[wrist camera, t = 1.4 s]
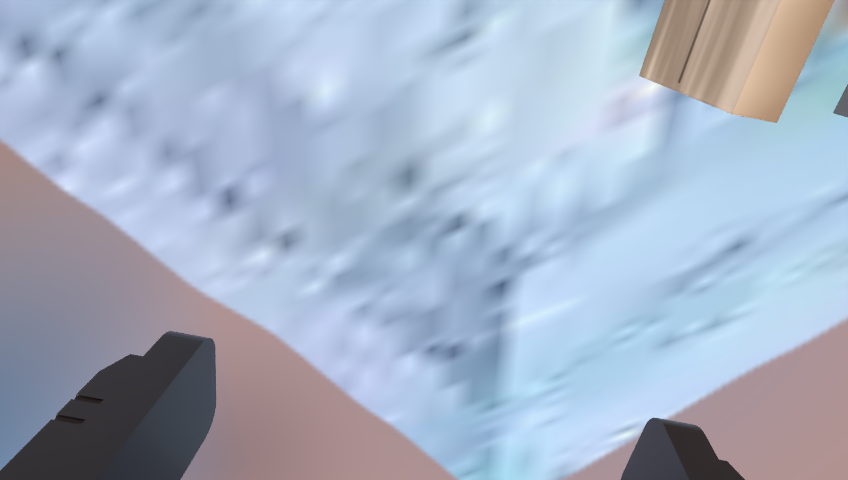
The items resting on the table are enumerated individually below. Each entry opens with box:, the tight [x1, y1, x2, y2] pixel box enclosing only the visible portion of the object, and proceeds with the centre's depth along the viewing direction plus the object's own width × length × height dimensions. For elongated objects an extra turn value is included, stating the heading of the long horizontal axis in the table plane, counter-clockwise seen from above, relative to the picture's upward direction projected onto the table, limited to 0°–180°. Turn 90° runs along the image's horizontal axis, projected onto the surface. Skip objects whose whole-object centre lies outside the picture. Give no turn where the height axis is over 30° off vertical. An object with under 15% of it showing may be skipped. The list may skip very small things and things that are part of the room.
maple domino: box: [639, 0, 834, 123], centre depth 25 cm, size 2×5×12 cm, turn 170°
